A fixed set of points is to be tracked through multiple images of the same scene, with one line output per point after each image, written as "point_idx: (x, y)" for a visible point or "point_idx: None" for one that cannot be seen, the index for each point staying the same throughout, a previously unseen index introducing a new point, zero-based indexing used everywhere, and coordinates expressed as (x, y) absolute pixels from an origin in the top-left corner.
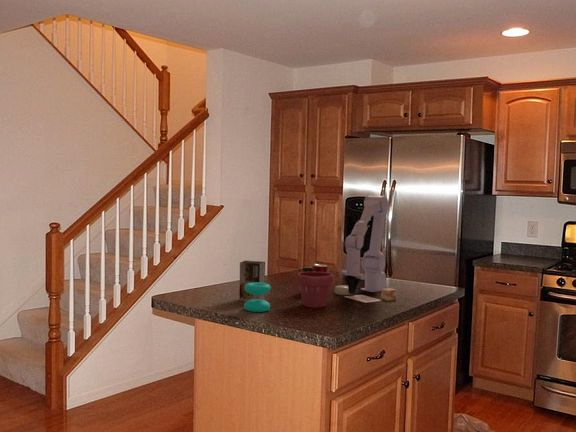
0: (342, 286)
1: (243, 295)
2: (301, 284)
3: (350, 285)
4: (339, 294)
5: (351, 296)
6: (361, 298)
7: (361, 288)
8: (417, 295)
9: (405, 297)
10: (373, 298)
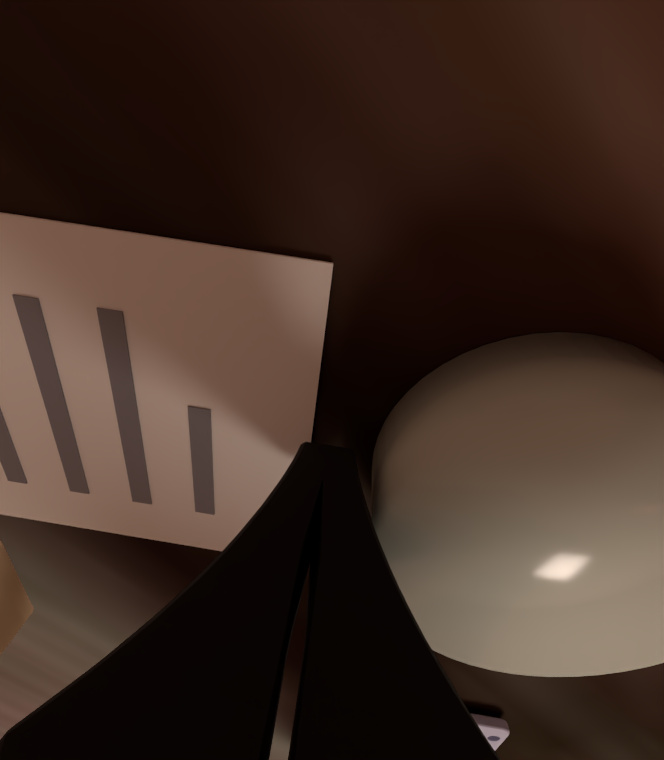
0: (638, 592)
1: None
2: None
3: (262, 564)
4: (526, 339)
5: (269, 386)
6: (57, 384)
7: (501, 733)
8: None
9: (30, 687)
10: (29, 501)
